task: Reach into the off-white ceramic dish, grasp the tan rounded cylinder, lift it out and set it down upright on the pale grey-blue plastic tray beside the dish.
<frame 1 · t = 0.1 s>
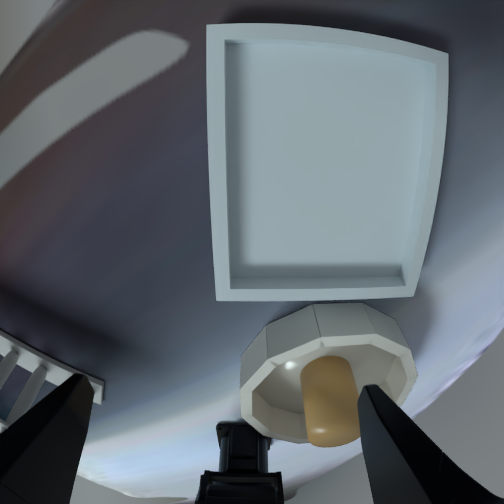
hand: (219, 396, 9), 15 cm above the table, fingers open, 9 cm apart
grey tray: (327, 167, 20), on the table
tan rounded cylinder: (325, 373, 28), point 1 cm above the table, touching ceramic dish
ceramic dish: (324, 369, 29), on the table
test tube rack: (18, 348, 30), on the table
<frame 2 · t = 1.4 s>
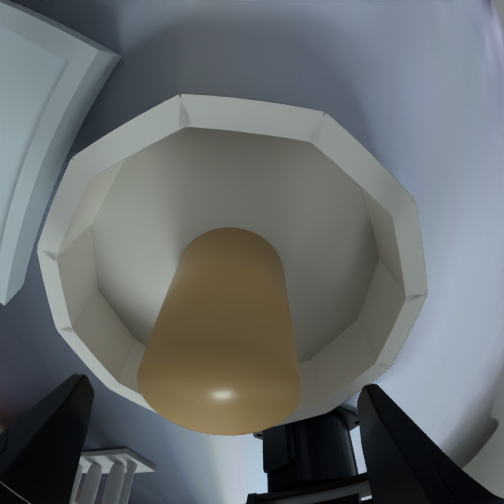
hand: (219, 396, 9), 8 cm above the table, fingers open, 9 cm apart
tan rounded cylinder: (230, 276, 15), point 1 cm above the table, touching ceramic dish
ceramic dish: (231, 269, 16), on the table
test tube rack: (79, 459, 29), on the table
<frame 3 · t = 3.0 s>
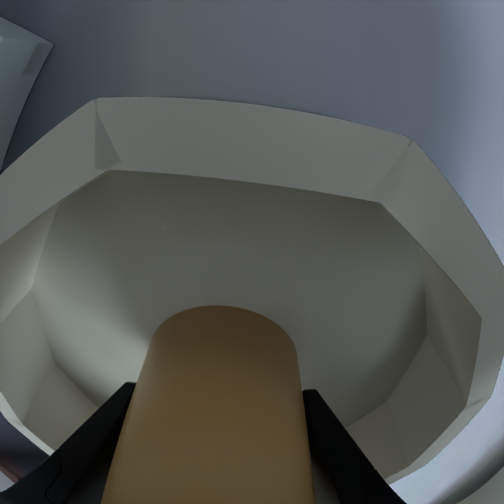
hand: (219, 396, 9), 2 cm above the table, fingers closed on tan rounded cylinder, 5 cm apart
tan rounded cylinder: (222, 364, 10), point 1 cm above the table, touching ceramic dish, gripper
ceramic dish: (223, 352, 11), on the table
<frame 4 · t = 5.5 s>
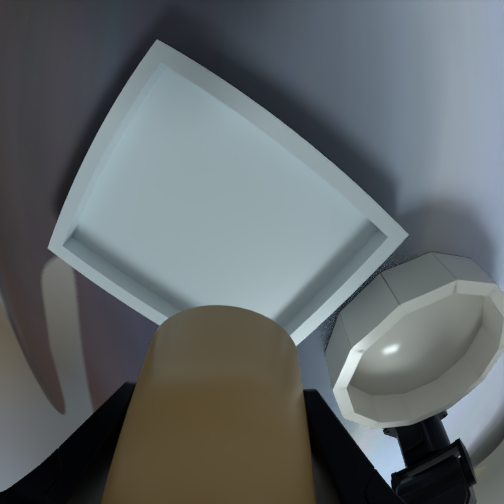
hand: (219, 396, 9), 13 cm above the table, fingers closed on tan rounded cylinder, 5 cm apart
grey tray: (217, 225, 20), on the table
tan rounded cylinder: (223, 364, 10), point 11 cm above the table, touching gripper
ceramic dish: (415, 337, 24), on the table
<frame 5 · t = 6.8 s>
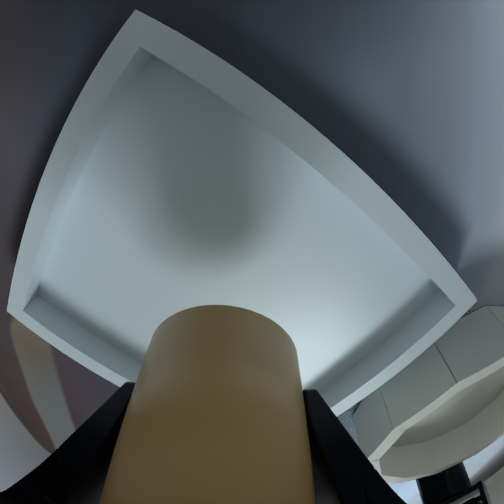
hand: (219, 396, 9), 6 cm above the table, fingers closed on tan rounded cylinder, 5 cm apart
grey tray: (228, 288, 14), on the table
tan rounded cylinder: (222, 364, 10), point 5 cm above the table, touching gripper
ceramic dish: (451, 390, 19), on the table
when the fingers open (4 cm above the table, at t = 8.1 s): tan rounded cylinder drops 2 cm, resting on grey tray.
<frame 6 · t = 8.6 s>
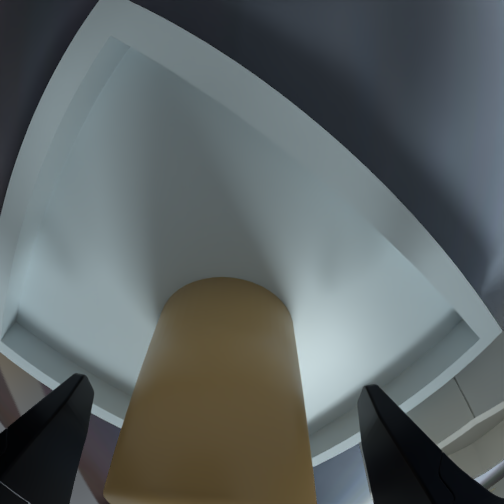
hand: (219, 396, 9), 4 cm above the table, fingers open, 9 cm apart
grey tray: (226, 322, 12), on the table
tan rounded cylinder: (225, 334, 11), point 1 cm above the table, touching grey tray
ceramic dish: (463, 413, 17), on the table
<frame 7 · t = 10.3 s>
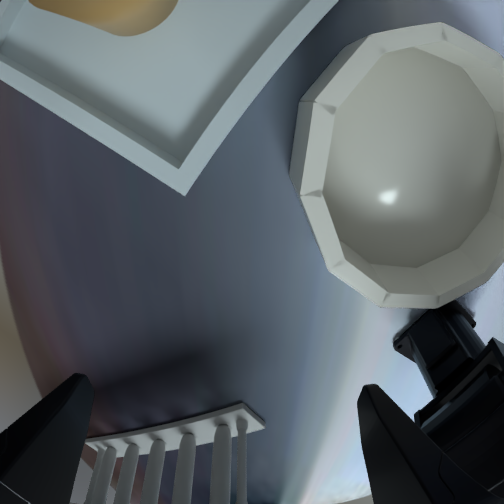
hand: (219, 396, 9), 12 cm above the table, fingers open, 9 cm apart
grey tray: (139, 1, 12), on the table
ceramic dish: (418, 162, 17), on the table
test tube rack: (160, 435, 31), on the table
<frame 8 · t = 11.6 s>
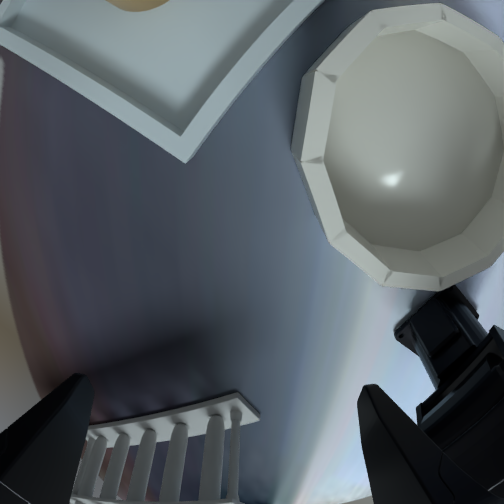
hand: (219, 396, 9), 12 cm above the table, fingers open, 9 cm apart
ceramic dish: (420, 142, 17), on the table
test tube rack: (152, 425, 30), on the table
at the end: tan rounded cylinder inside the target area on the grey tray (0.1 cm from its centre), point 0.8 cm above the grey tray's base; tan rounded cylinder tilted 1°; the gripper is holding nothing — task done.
